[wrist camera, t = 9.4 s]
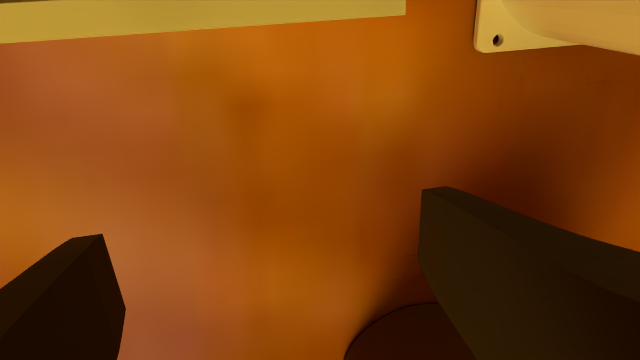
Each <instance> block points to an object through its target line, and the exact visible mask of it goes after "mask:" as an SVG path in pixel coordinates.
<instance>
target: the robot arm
mask: <svg viewBox="0 0 640 360" xmlns="http://www.w3.org/2000/svg"><path fill="white" fill-rule="evenodd" d="M496 35H498V36H499V40H498V42H497V43H496V44H495V45H493V38H494V37H495V36H496ZM473 43H474V47H475V49H476V50H478V51H480V52H484V53H489V52H500V51H512V50H523V49H535V48H546V47H558V46H569V45H581V44H583V45H588V46H593V47H599V48H604V49H609V50H614V51H620V52H625V53H630V54H636V55H640V0H477V10H476V20H475V30H474V40H473ZM418 262H419V264H420V267H421V269H422V271H423V273H424V275H425V278H426V280H427V282H428V284H429V286H430V288H431V290H432V292H433V294H434V296H435V297H436V299H437V300H438V302H439V303H440V305H441V306H442V308H443V309H444V311H445V313H446V314H447V316H448V317H449V319H450V320H451V322H452V323H453V325H454V326H455V328H456V329H457V331H458V332H459V334H460V335H461V337H462V338H463V340H464V341H465V342H466V344H467V345H468V347H469V348H470V350H471V351H472V353H473V354H474V356H475V357H476V359H477V360H640V252H638V251H634V250H630V249H627V248H623V247H619V246H616V245H612V244H608V243H605V242H601V241H597V240H594V239H591V238H588V237H584V236H581V235H578V234H575V233H572V232H569V231H566V230H563V229H561V228H558V227H555V226H552V225H549V224H546V223H543V222H541V221H538V220H535V219H533V218H530V217H527V216H525V215H522V214H520V213H517V212H514V211H512V210H509V209H507V208H504V207H502V206H499V205H497V204H494V203H492V202H489V201H487V200H484V199H482V198H479V197H477V196H474V195H471V194H469V193H466V192H463V191H460V190H457V189H454V188H450V187H446V186H445V187H438V188H430V189H423V190H422V197H421V214H420V231H419V248H418ZM125 311H126V308H125V305H124V301H123V298H122V295H121V292H120V289H119V285H118V282H117V279H116V276H115V273H114V269H113V266H112V263H111V260H110V256H109V253H108V250H107V247H106V244H105V240H104V237H103V234H97V235H90V236H83V237H76V238H71V239H69V240H68V241H66V242H64V243H63V244H61V245H60V246H58V247H57V248H55V249H54V250H53V251H51V252H50V253H48V254H47V255H46V256H44V257H43V258H42V259H40V260H39V261H37V262H36V263H35V264H33V265H32V266H31V267H29V268H28V269H27V270H25V271H24V272H23V273H21V274H20V275H19V276H17V277H16V278H15V279H13V280H12V281H11V282H9V283H8V284H7V285H5V286H4V287H2V288H1V289H0V360H117V357H118V353H119V349H120V343H121V338H122V332H123V325H124V318H125Z"/></svg>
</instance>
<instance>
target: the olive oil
mask: <svg viewBox="0 0 640 360" xmlns="http://www.w3.org/2000/svg"><path fill="white" fill-rule="evenodd" d="M345 360H477V359H476V357H475V356H474V354H473V353H472V351H471V350H470V348H469V347H468V345H467V344H466V342H465V341H464V340H463V338H462V337H461V335H460V334H459V332H458V331H457V329H456V328H455V326H454V325H453V323H452V322H451V320H450V319H449V317H448V316H447V314H446V313H445V311H444V309H443V308H442V306H441V305H440V304H421V305H414V306H410V307H406V308H403V309H400V310H397V311H395V312H392V313H390V314H388V315H386V316H384V317H382V318H381V319H379V320H377V321H376V322H375V323H373V324H372V325H370V326H369V327H368V328H367V329H366V330H365V331H364V332H363V333H362V334H361V335H360V336H359V337H358V338H357V339H356V340H355V342H354V343H353V344H352V346H351V347H350V349H349V351H348V353H347V355H346V357H345Z"/></svg>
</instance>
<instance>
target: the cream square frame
mask: <svg viewBox="0 0 640 360" xmlns="http://www.w3.org/2000/svg"><path fill="white" fill-rule="evenodd" d="M405 14H406V0H0V44H1V43H15V42H29V41H43V40H57V39H71V38H85V37H100V36H114V35H128V34H142V33H156V32H170V31H184V30H198V29H212V28H227V27H241V26H255V25H269V24H283V23H297V22H311V21H325V20H340V19H354V18H368V17H382V16H396V15H405Z"/></svg>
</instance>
